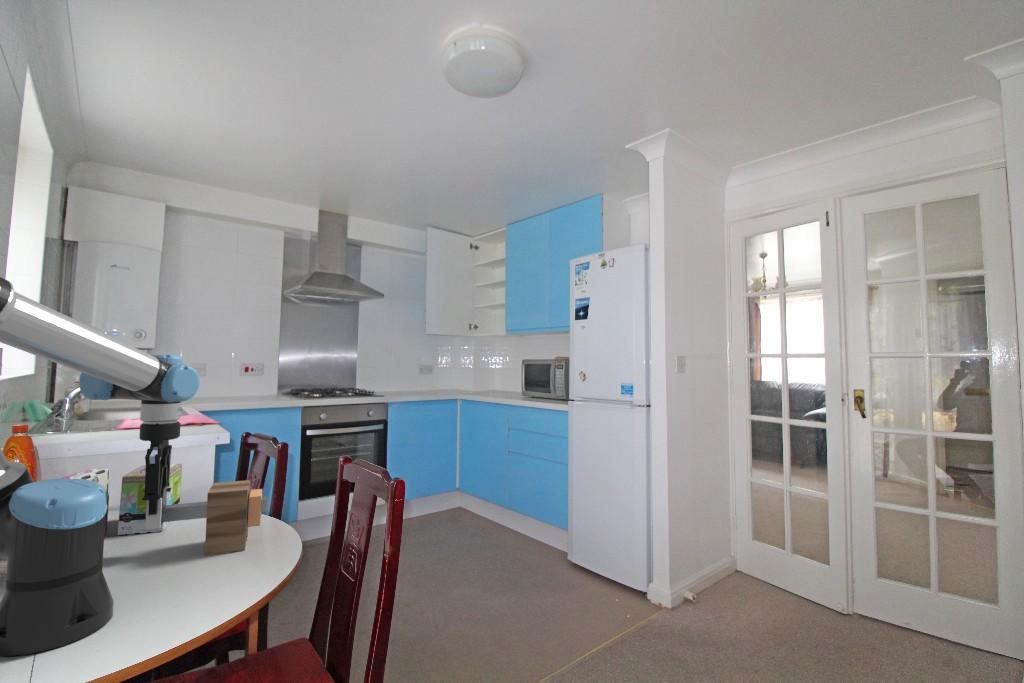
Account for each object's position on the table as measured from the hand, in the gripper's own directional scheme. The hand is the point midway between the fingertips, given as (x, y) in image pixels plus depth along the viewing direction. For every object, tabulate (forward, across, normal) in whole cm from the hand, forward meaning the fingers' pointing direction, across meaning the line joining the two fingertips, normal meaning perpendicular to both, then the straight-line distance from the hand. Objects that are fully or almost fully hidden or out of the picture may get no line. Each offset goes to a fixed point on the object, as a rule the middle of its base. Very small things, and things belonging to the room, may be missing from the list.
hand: (155, 524), depth 110 cm
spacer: (+2, 0, -20) cm, 20 cm away
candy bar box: (+7, +15, +18) cm, 24 cm away
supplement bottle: (+7, +28, +19) cm, 34 cm away
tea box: (+7, +24, +6) cm, 26 cm away
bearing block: (+7, 0, -14) cm, 16 cm away
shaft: (0, 0, -10) cm, 11 cm away
